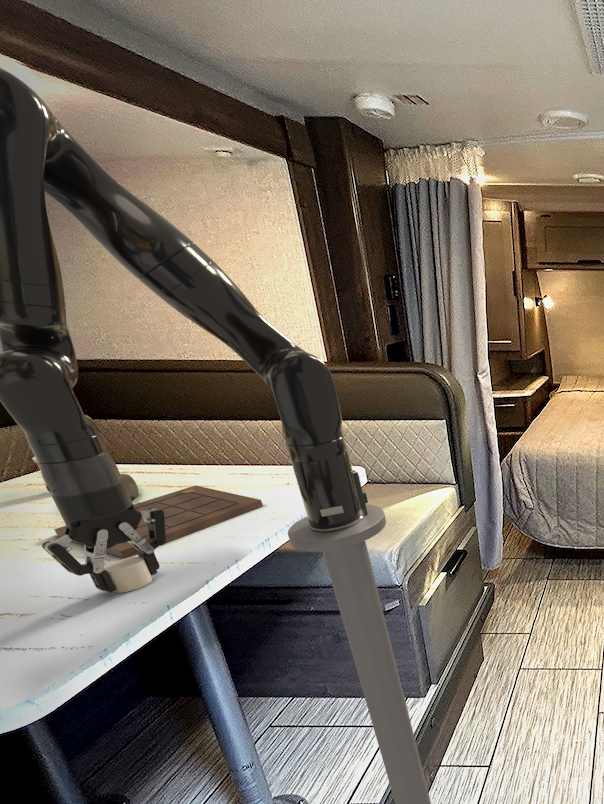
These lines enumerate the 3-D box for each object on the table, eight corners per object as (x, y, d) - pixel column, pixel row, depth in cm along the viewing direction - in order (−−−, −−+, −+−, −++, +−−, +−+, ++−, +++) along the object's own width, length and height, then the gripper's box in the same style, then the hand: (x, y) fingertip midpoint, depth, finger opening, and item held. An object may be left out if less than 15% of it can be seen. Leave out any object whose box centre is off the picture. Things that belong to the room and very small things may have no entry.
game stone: (142, 574, 84) (134, 554, 83) (159, 579, 82) (150, 559, 81) (105, 589, 80) (95, 568, 78) (122, 595, 78) (112, 574, 77)
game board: (197, 491, 118) (195, 484, 118) (263, 506, 109) (260, 499, 109) (57, 536, 98) (53, 528, 97) (124, 558, 89) (120, 550, 88)
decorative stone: (138, 504, 111) (131, 487, 110) (98, 513, 107) (89, 495, 106) (141, 483, 123) (134, 467, 122) (104, 490, 119) (97, 474, 118)
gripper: (30, 506, 67) (84, 612, 73) (159, 471, 79) (196, 564, 86) (4, 499, 70) (59, 601, 76) (133, 466, 82) (171, 556, 88)
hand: (131, 581), depth 81 cm, fingers closed on game stone, 4 cm apart
